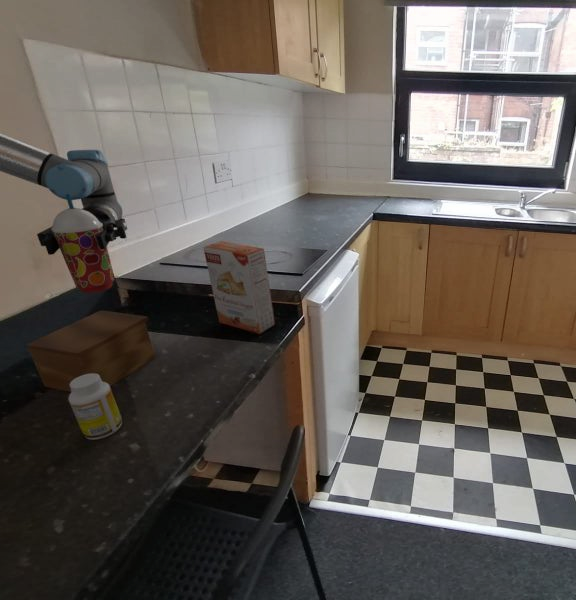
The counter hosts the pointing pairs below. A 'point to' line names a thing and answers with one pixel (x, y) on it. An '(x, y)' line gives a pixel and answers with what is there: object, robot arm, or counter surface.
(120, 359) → the chest
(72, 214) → the smoothie
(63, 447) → the counter surface
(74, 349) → the lid
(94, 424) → the supplement bottle
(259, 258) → the cracker box
